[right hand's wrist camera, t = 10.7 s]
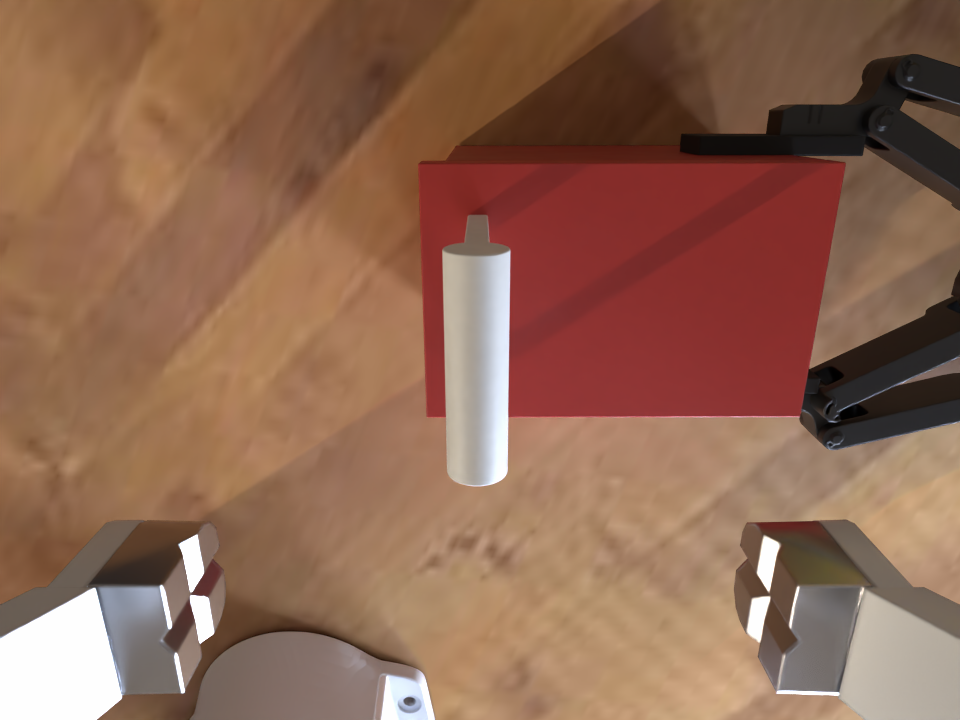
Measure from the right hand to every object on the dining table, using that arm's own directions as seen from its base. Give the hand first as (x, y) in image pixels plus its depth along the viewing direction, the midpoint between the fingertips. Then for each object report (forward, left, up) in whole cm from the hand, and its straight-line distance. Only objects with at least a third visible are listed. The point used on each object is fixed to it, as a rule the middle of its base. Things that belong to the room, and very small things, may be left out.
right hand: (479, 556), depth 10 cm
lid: (-2, -5, -16) cm, 17 cm away
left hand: (-3, -8, -20) cm, 22 cm away
